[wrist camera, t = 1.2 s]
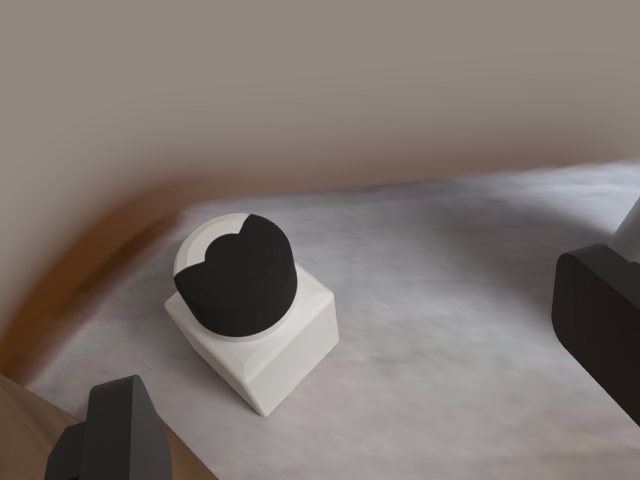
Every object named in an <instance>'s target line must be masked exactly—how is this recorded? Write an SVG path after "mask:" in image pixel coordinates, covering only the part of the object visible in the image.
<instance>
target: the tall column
mask: <svg viewBox="0 0 640 480" xmlns="http://www.w3.org/2000/svg"><path fill="white" fill-rule="evenodd" d="M157 415H158V414H157ZM158 417H159V415H158ZM159 419H160V422H161V424H162V426H163V428H164V431H165V433H166V436H167V440H168V443H169V448H170V453H171V459H172V473H173V480H219V479H218V478H217V477H216V476H215V475H214V474H213V473H212V472H211V471H210V470H209V469H208V468H207V467H206V466H205V465H204V463H203V462H202V461H201V460H200V459H199V458H198V457H197V456H196V455H195V454H194V453H193V452H192V451H191V450H190V449H189V447H188V446H187V445H186V444H185V443H184V442H183V441H182V440H181V439H180V438H179V437H178V436H177V435H176V434H175V433H174V431H173V430H172V429H171V428H170V427H169V426H168V425H167V424H166V423H165V422H164V421H163V420H162V419H161V418H160V417H159ZM78 423H82V421H80V420H78V419H77V418H75V417H73V416H71V415H70V414H68V413H66V412H65V411H63V410H61V409H60V408H58V407H56V406H54V405H53V404H51V403H49V402H48V401H46V400H44V399H43V398H41V397H39V396H37V395H36V394H34V393H32V392H31V391H29V390H27V389H25V388H24V387H22V386H20V385H19V384H17V383H15V382H14V381H12V380H10V379H8V378H7V377H5V376H3V375H2V374H0V480H44V476H45V471H46V466H47V460H48V456H49V455H50V453H51V451H52V450H53V448H54V446H55V445H56V443H57V441H58V440H59V438H60V436H61V435H62V433H63V431H64V430H65V428H66V427H68V426H71V425H75V424H78Z"/></svg>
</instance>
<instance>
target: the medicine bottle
mask: <svg viewBox="0 0 640 480" xmlns="http://www.w3.org/2000/svg"><path fill="white" fill-rule="evenodd" d="M174 280H175V285H176V287H177V290H178V291H177V292H176V293H175V294H174V295H173V296H172V297H170V298H169V299H168V300H167V301H166V302H165V309H166V311H167V312H168V313H169V315H170V316H171V318H172V319H173V320H174V322H175V323H176V325H177V326H178V327H179V329H180V330H181V331H182V333H183V334H184V336H185V337H186V338H187V340H188V341H189V342H190V344H191V345H192V347H193V348H194V349H195V351H196V352H197V353H198V354H199V355H200V356H201V357H202V358H203V359H204V360H205V361H206V362H207V363H208V364H209V365H210V366H211V367H212V368H213V369H214V370H215V371H216V372H217V373H218V374H219V375H220V376H221V377H222V378H223V379H224V380H225V381H226V382H227V383H228V384H229V385H230V386H231V387H232V388H233V389H234V390H235V391H236V392H237V393H238V394H239V395H240V396H241V397H242V398H243V399H244V400H245V401H246V402H247V403H248V404H249V405H250V406H251V407H252V408H253V409H254V410H255V411H256V412H257V413H258V414H259V415H260V416H262V417H267V416H268V415H269V414H270V413H271V412H272V411H273V410H274V409H275V408H276V407H277V406H278V405H279V404H280V403H281V402H282V401H283V400H284V399H285V398H286V397H287V396H288V394H289V393H290V392H291V391H292V390H293V389H294V388H295V387H296V386H297V385H298V384H299V383H300V382H301V381H302V380H303V379H304V378H305V377H306V376H307V375H308V374H309V373H310V371H311V370H312V369H313V368H314V367H315V366H316V365H317V364H318V363H319V362H320V361H321V360H322V359H323V358H324V357H325V356H326V355H327V354H328V353H329V352H330V351H331V350H332V348H333V347H334V346H335V345H336V344H337V343H338V342H339V333H338V325H337V316H336V308H335V299H334V294H333V293H332V291H330V290H329V289H328V288H327V287H326V286H324V285H323V284H322V283H321V282H319V281H318V280H317V279H316V278H314V277H313V276H312V275H311V274H309V273H308V272H307V271H306V270H304V269H303V268H302V267H301V266H300V265H298V264H297V263H296V262H295V261H294V259H293V255H292V250H291V247H290V243H289V241H288V239H287V237H286V236H285V234H284V233H283V231H282V230H281V229H280V228H279V227H278V226H277V225H275V224H274V223H273V222H271V221H269V220H268V219H266V218H263V217H261V216H258V215H254V214H248V213H233V214H227V215H222V216H219V217H216V218H213V219H211V220H209V221H207V222H205V223H204V224H202V225H200V226H199V227H198V228H196V229H195V230H194V231H193V232H192V233H191V234H190V235H189V236H188V237H187V238H186V239H185V241H184V242H183V243H182V245H181V247H180V248H179V251H178V253H177V255H176V259H175V262H174Z"/></svg>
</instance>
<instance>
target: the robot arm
mask: <svg viewBox="0 0 640 480" xmlns="http://www.w3.org/2000/svg"><path fill="white" fill-rule="evenodd" d="M551 317H552V324H553V328H554V331H555V333H556V336H557V338H558V339H559V341H560V342H561V344H562V345H563V346H564V348H565V349H566V350H567V351H568V352H569V353H570V354H571V355H572V356H573V357H574V358H575V359H576V360H577V361H578V362H579V363H580V364H581V366H582V367H583V368H584V369H585V370H586V371H587V372H588V373H589V374H590V375H591V376H592V377H593V378H594V379H595V380H596V381H597V382H598V384H599V385H600V386H601V387H602V388H603V389H604V390H605V391H606V392H607V393H608V394H609V395H610V396H611V397H612V398H613V399H614V400H615V402H616V403H617V404H618V405H619V406H620V407H621V408H622V409H623V410H624V411H625V412H626V413H627V414H628V415H629V416H630V417H631V418H632V420H633V421H634V422H635V423H636V424H637V425H638V426H639V427H640V197H639V199H638V200H637V202H636V203H635V205H634V206H633V207H632V209H631V210H630V212H629V213H628V215H627V216H626V218H625V219H624V220H623V222H622V223H621V225H620V226H619V228H618V229H617V231H616V232H615V234H614V235H613V236H612V238H611V239H610V241H609V242H608V243H607V245H604V244H596V245H592V246H589V247H585V248H582V249H578V250H575V251H571V252H568V253H564V254H562V255H561V256H560V257H559V259H558V261H557V267H556V276H555V286H554V295H553V304H552V315H551ZM44 480H173V473H172V459H171V453H170V448H169V443H168V440H167V436H166V433H165V431H164V428H163V426H162V424H161V422H160V419H159V417H158V415H157V413H156V411H155V408H154V406H153V404H152V402H151V399H150V397H149V395H148V393H147V390H146V388H145V386H144V384H143V382H142V380H141V378H140V377H139V376H138V375H133V376H129V377H126V378H122V379H119V380H115V381H112V382H108V383H105V384H101V385H98V386H94V387H93V388H92V389H91V392H90V396H89V404H88V412H87V420H86V421H85V422H82V423H78V424H75V425H71V426H68V427H66V428H65V430H64V431H63V433H62V435H61V436H60V438H59V440H58V441H57V443H56V445H55V446H54V448H53V450H52V451H51V453H50V455H49V456H48V460H47V466H46V471H45V476H44Z"/></svg>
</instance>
